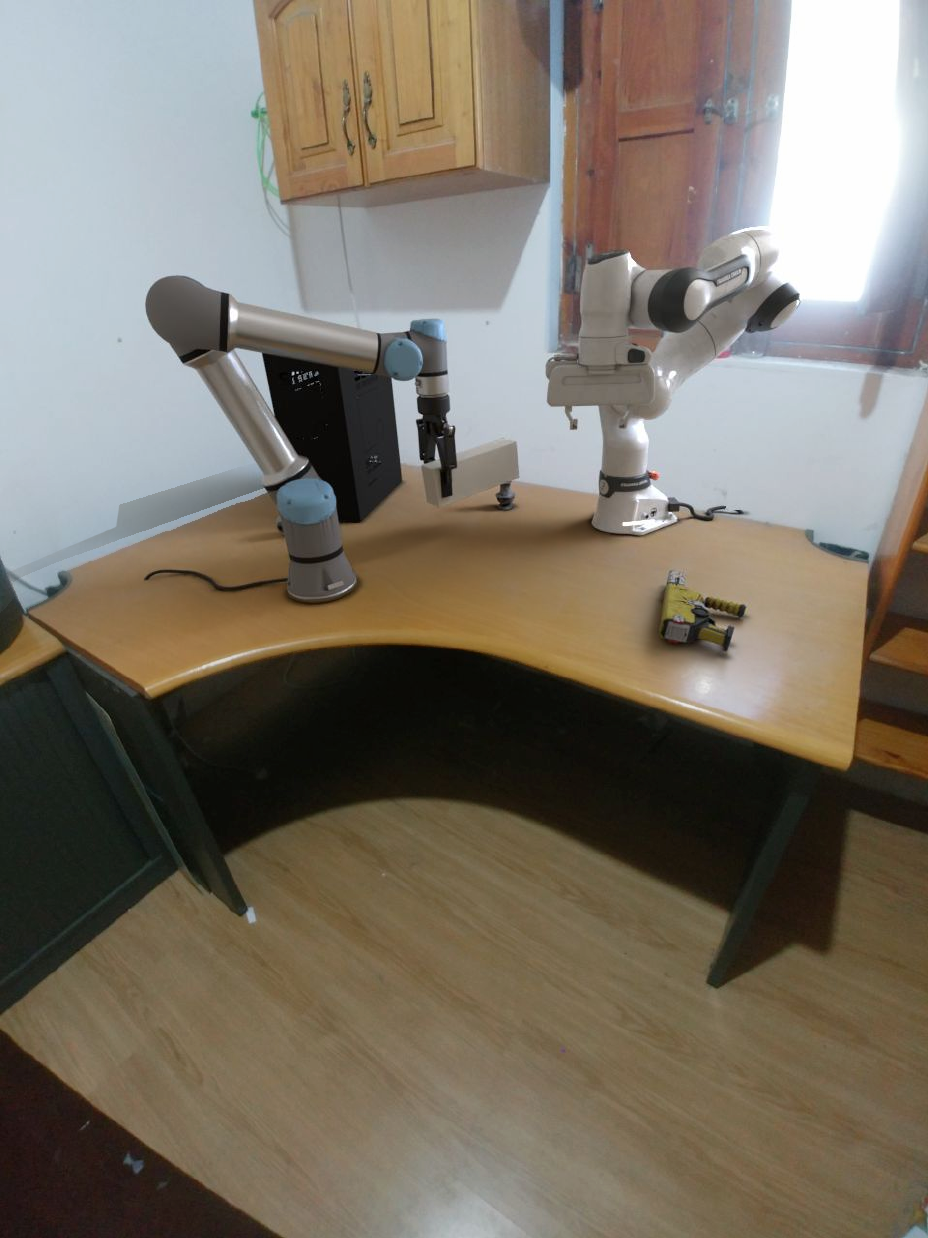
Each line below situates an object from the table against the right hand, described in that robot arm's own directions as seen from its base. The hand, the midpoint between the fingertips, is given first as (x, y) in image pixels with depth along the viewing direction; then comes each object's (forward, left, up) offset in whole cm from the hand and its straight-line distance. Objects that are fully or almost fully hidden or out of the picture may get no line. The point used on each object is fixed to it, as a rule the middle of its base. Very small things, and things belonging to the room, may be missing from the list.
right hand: (597, 428), depth 119 cm
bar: (+11, -36, -20) cm, 43 cm away
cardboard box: (+32, -81, -32) cm, 92 cm away
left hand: (+21, -34, -19) cm, 44 cm away
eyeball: (+55, -62, -32) cm, 89 cm away
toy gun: (-7, +27, -32) cm, 42 cm away
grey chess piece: (-5, -49, -32) cm, 58 cm away
